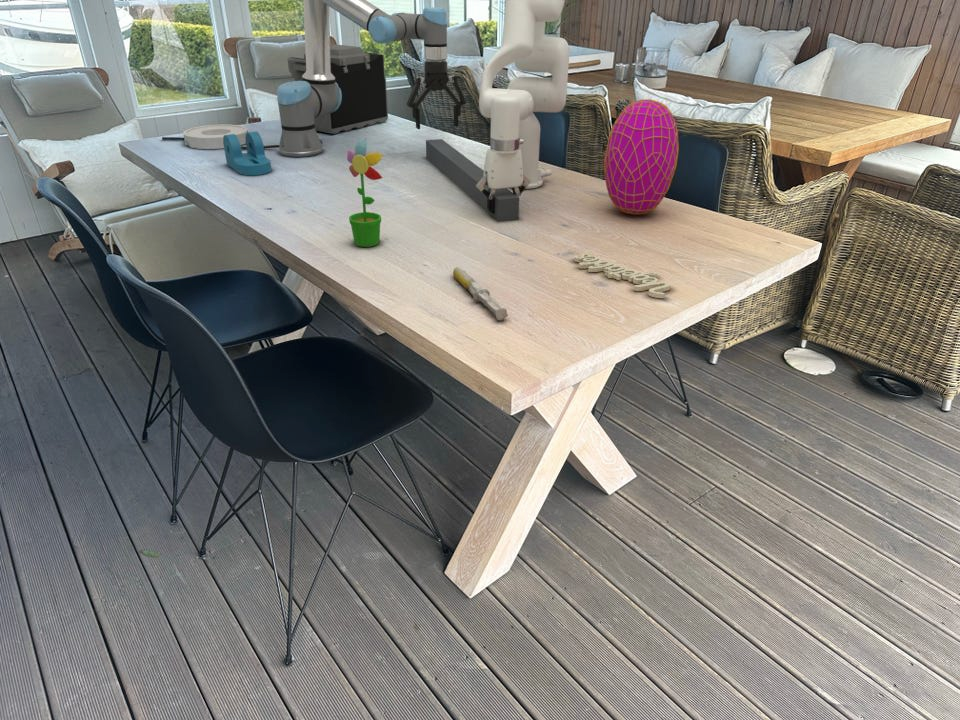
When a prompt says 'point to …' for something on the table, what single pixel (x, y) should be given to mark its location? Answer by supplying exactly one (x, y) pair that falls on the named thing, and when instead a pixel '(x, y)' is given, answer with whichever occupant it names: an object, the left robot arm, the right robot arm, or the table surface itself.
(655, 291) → the decorative sign
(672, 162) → the decorative egg
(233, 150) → the camera mount
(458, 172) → the post
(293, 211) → the table surface
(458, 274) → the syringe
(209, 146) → the ashtray
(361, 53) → the electronic device
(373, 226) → the potted flower
